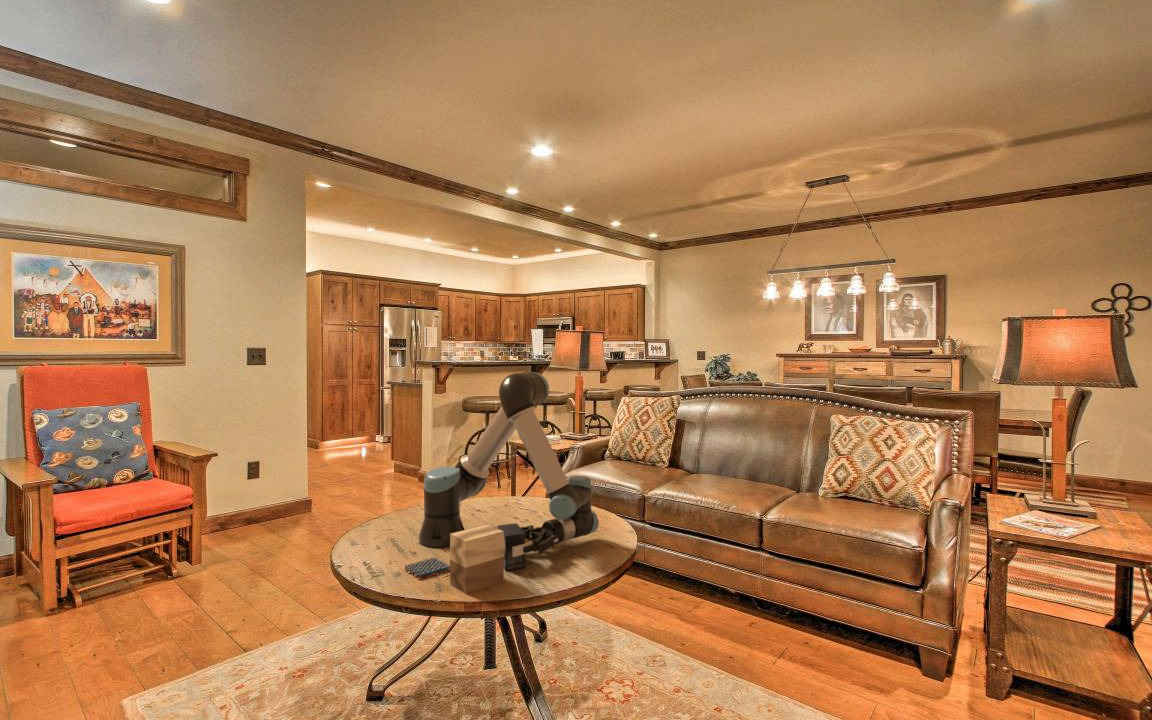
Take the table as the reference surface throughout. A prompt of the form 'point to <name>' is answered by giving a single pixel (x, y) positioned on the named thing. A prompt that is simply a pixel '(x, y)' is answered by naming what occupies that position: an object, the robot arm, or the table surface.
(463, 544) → the tower top
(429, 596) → the table surface
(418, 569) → the woven mat
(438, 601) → the table surface
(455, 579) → the tower base
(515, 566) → the small box
